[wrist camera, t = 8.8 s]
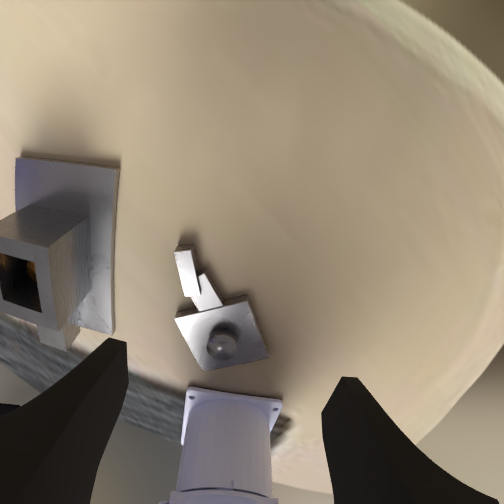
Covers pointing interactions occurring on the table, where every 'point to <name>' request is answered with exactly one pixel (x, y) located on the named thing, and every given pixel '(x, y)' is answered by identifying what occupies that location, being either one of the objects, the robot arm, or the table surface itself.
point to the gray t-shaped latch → (216, 319)
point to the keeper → (101, 232)
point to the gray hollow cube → (44, 264)
